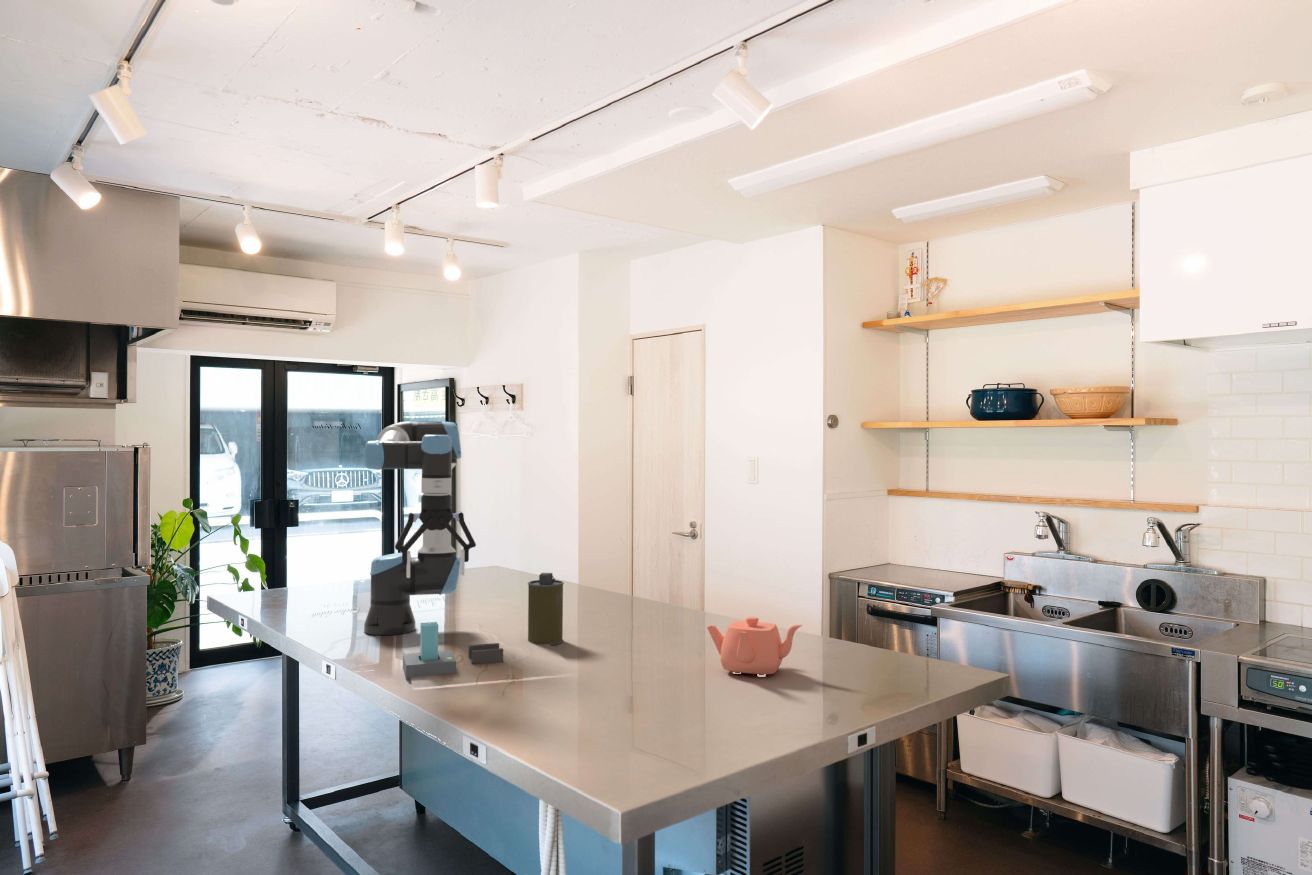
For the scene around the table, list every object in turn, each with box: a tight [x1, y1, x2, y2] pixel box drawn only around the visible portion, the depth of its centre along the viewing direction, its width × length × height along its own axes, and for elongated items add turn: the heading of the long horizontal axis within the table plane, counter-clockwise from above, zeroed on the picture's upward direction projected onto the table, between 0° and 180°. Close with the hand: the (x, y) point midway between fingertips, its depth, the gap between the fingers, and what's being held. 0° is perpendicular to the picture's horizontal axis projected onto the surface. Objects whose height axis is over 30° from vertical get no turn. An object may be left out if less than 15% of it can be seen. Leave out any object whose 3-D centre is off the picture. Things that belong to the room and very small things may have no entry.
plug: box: [419, 621, 439, 661], centre depth 212 cm, size 4×4×12 cm
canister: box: [527, 572, 565, 646], centre depth 245 cm, size 11×10×20 cm
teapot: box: [706, 616, 803, 675], centre depth 214 cm, size 18×18×14 cm
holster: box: [467, 642, 504, 665], centre depth 222 cm, size 7×8×4 cm
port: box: [402, 649, 457, 681], centre depth 212 cm, size 12×12×4 cm
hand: (435, 575), depth 217 cm, fingers open, 13 cm apart
